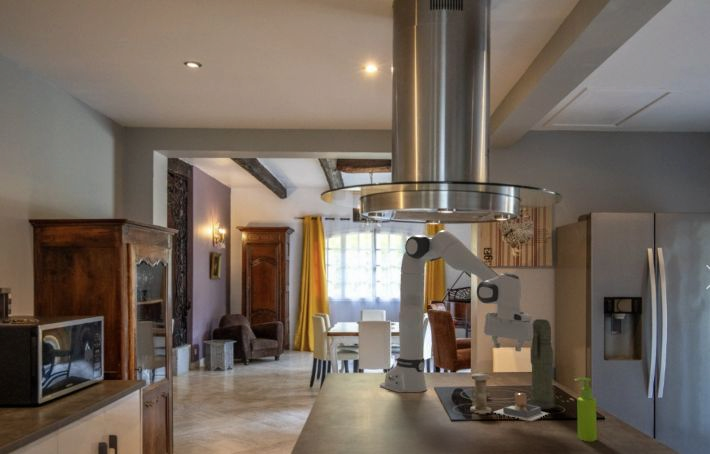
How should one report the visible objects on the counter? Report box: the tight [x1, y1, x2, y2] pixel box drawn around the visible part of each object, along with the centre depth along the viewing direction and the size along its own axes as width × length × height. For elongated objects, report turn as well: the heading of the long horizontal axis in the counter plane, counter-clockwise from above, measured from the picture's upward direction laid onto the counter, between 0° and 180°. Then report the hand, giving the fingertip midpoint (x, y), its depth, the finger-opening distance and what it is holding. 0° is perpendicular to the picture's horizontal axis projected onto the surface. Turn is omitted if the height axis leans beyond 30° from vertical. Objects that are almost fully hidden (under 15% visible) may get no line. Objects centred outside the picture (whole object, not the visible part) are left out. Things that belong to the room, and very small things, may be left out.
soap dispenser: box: [573, 377, 598, 442], centre depth 198 cm, size 6×7×20 cm
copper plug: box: [514, 392, 528, 411], centre depth 228 cm, size 4×4×7 cm
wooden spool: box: [469, 373, 492, 415], centre depth 232 cm, size 8×8×14 cm
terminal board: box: [493, 404, 550, 422], centre depth 228 cm, size 16×14×3 cm
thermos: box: [529, 318, 555, 410], centre depth 241 cm, size 9×12×35 cm
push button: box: [476, 371, 491, 397], centre depth 258 cm, size 7×5×10 cm
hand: (507, 349), depth 233 cm, fingers open, 8 cm apart
